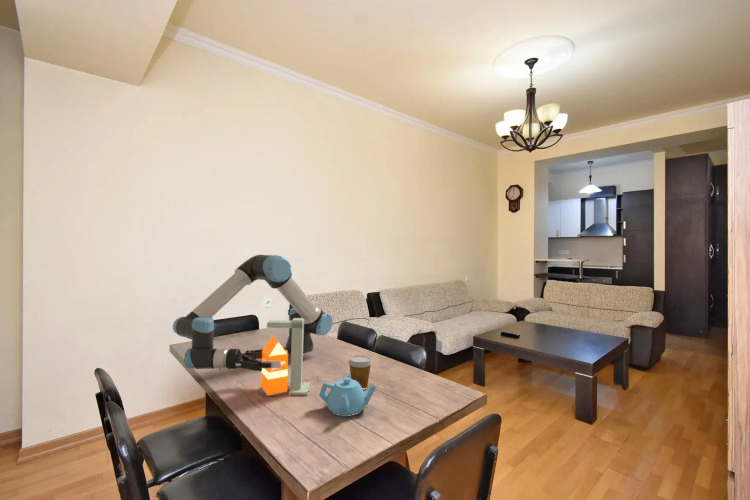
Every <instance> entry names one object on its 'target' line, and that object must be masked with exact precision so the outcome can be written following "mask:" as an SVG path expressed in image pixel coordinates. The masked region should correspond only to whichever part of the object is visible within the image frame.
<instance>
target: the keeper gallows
mask: <svg viewBox="0 0 750 500" xmlns="http://www.w3.org/2000/svg"><path fill="white" fill-rule="evenodd" d="M266 328H267V329H273V328H274V329H289V328H292V342H291V352H290V382H289V383H290V385H289V387H290V391H289V392H288V396H289V395H307V394H309V392H308V391H310V389H309V388H311V385H310V384H311V381H308V382H307V381H303V371H304V370H303V363H304V360H303V359H304V353H303V334H304V318H294V319H293V320H292V321H289V320H276V319H275V320H273V319H272V320H271V319H270V320H268V321H267V322H266ZM307 396H308V395H307Z"/></svg>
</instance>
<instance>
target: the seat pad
mask: <svg viewBox="0 0 750 500" xmlns="http://www.w3.org/2000/svg"><path fill="white" fill-rule="evenodd" d="M289 390H290V385H288V384H287V391H286V392H281V393H277V394H272V395H267V394H266V393H265V391H264V390H263V389H262V387H261V386H260V387H259V388H258V390H257V391H258V392H257V393H258V394H259V395H260V396H262V397H267V396H268V397H267V398H270V397H271V398H273V397H272V396H275V397H281V396H283V394H284V395H286V394H288V393H289ZM287 392H288V393H287ZM285 393H286V394H285ZM280 395H281V396H280Z"/></svg>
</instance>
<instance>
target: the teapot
mask: <svg viewBox="0 0 750 500" xmlns="http://www.w3.org/2000/svg"><path fill="white" fill-rule="evenodd" d="M327 388H328V389H330V391H329V393H327V392H326V391H327ZM376 388H377V385H374V384H372V385H371V386H370V387H369V389H367V390H366V393H365V390H364V391H363V389H362V387H361V386H360V384H359V383H358V382H357V381H355V380H352V379H351V374H346V377H343V378H342V379H339V380H337V381H336V382H335V383H332V382H328V381H324V382H323V384H322V386H321V389H320V391H319V394H318V396H319V398H321V400H323V401H324V403H326V406H327V408H328V410H329V411H330V413H332V412H333V413H335V414H339V415H352V414H356V413H359V412H361V411H362V410H363V411H364V409H365V408H366V406H368V404H369V402H370V400H371V398H372V397H373V394H374V392H375V390H376ZM363 411H362V412H363ZM362 412H361V413H362ZM333 413H332V414H333ZM335 414H334V415H335ZM359 414H360V413H359Z"/></svg>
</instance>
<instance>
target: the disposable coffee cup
mask: <svg viewBox="0 0 750 500" xmlns="http://www.w3.org/2000/svg"><path fill="white" fill-rule="evenodd" d="M347 362H348V364H349V375H350V376H351V379H352V380H355V381H357V382H358V383H359V384H360V386H361V387H362V388H366V387H367V388H368V384H369V379H370V372H371V366H372V363H373V361H372V358H371V357H369V356H367V355H360V354H359V355H353V356H351V357H350V358H349V360H348V361H347Z"/></svg>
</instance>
